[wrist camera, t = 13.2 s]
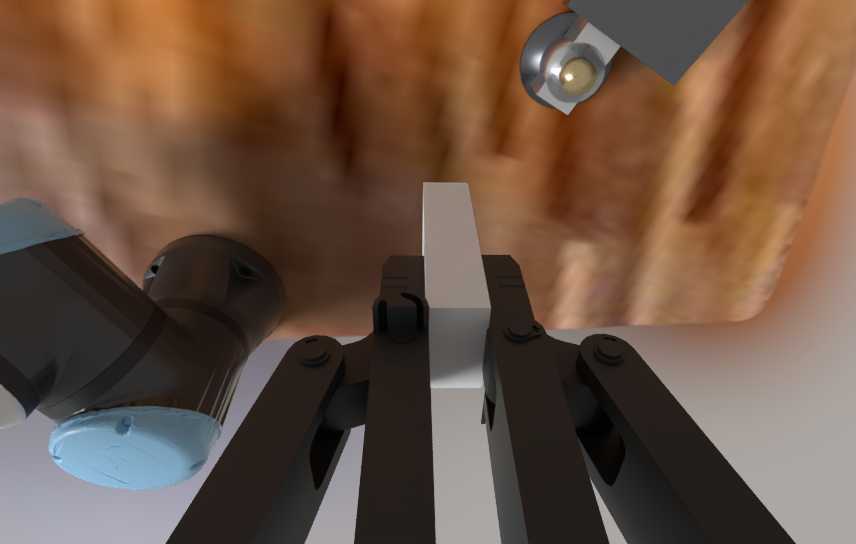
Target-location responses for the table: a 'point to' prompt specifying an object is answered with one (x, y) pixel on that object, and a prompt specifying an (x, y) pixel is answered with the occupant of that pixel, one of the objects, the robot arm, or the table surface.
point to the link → (573, 44)
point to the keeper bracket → (631, 37)
